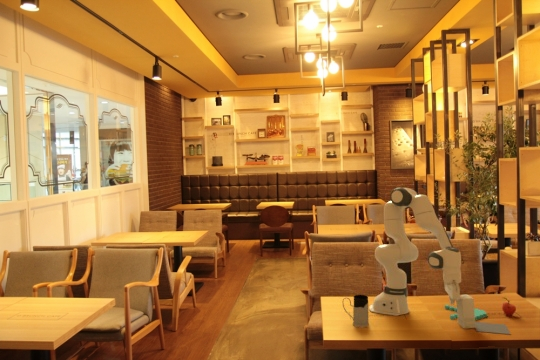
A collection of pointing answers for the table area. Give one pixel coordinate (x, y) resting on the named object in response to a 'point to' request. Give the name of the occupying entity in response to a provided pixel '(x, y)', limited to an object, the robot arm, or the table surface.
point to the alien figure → (478, 312)
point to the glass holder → (360, 311)
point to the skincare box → (466, 311)
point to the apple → (508, 308)
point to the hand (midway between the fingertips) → (452, 303)
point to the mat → (491, 328)
